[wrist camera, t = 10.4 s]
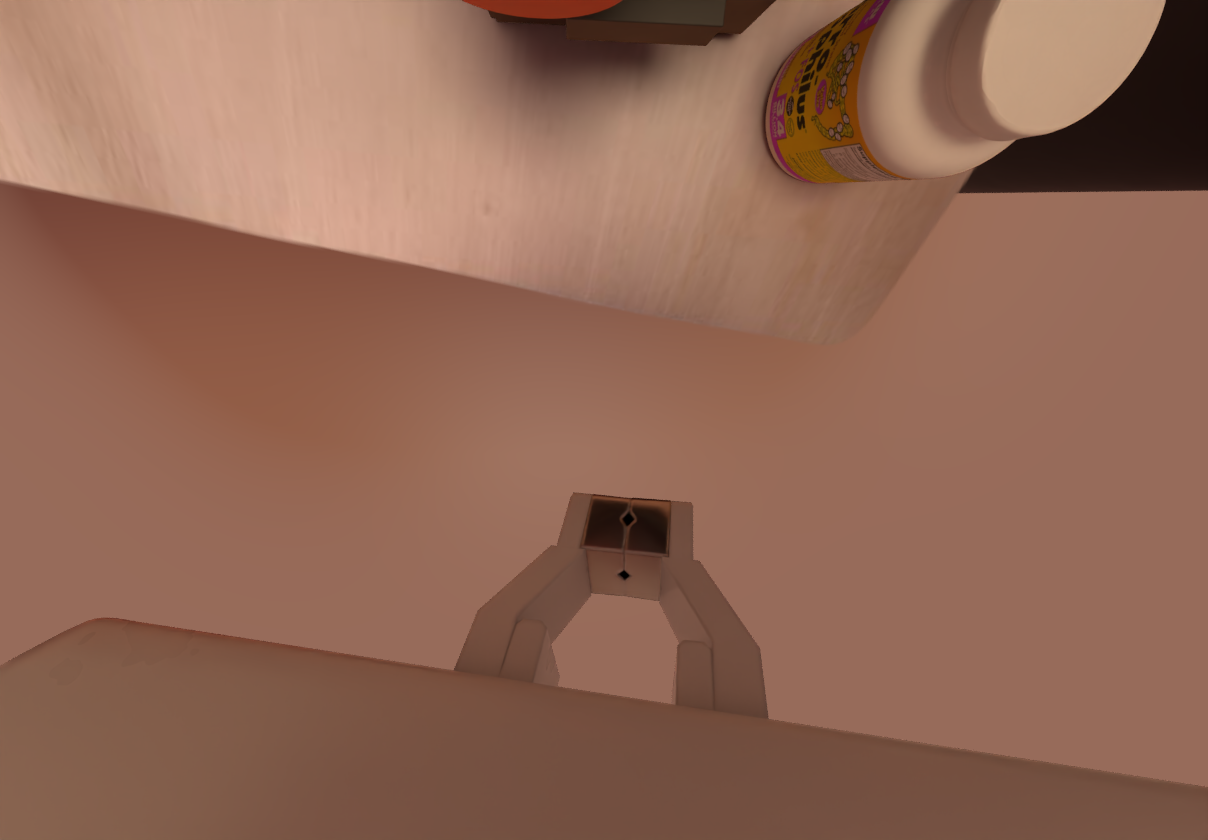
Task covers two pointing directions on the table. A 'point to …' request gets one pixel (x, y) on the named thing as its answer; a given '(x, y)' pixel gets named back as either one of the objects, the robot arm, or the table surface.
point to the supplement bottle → (946, 82)
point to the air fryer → (657, 21)
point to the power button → (544, 7)
